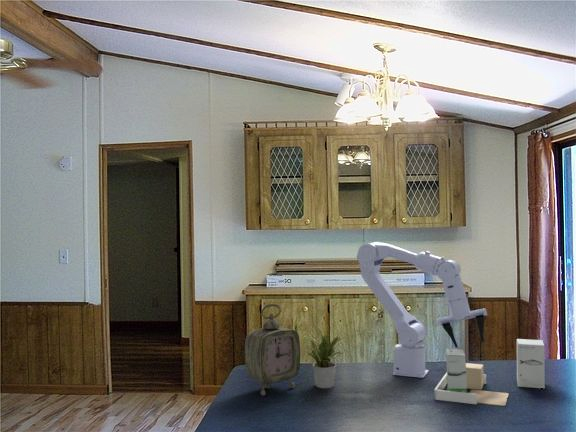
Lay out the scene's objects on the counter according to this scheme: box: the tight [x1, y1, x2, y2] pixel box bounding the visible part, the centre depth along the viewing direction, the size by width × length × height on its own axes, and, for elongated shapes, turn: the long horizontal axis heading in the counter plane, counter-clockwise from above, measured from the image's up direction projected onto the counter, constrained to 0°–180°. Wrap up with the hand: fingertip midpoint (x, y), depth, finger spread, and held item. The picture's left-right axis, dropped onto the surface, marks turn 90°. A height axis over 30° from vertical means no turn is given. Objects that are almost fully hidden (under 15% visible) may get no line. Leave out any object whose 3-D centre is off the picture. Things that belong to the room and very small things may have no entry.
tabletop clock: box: [244, 303, 301, 397], centre depth 176 cm, size 14×9×25 cm, turn 130°
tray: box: [433, 371, 487, 405], centre depth 172 cm, size 11×20×3 cm, turn 155°
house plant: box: [304, 330, 348, 389], centre depth 178 cm, size 14×14×16 cm
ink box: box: [445, 348, 468, 393], centre depth 169 cm, size 9×5×12 cm, turn 168°
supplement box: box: [516, 338, 546, 390], centre depth 177 cm, size 7×7×13 cm
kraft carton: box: [466, 362, 485, 391], centre depth 176 cm, size 5×5×6 cm
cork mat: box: [469, 389, 510, 407], centre depth 165 cm, size 10×11×1 cm
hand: (469, 344), depth 181 cm, fingers open, 7 cm apart
